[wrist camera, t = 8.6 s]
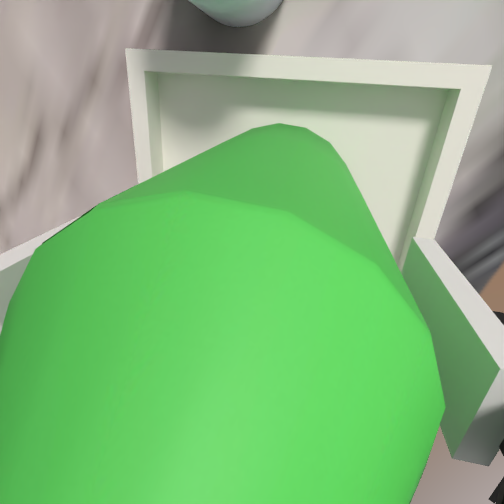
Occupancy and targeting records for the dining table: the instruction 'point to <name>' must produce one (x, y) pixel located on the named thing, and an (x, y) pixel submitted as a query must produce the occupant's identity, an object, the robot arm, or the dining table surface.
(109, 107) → the dining table surface
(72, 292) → the bottle
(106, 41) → the dining table surface
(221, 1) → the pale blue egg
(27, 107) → the dining table surface
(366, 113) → the tray
